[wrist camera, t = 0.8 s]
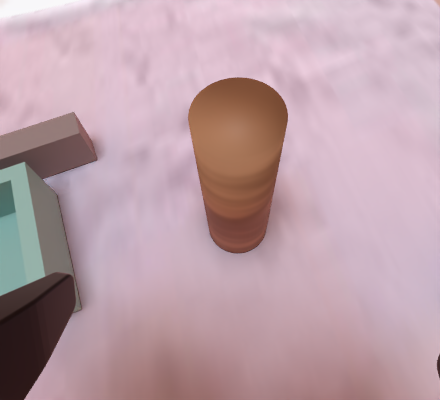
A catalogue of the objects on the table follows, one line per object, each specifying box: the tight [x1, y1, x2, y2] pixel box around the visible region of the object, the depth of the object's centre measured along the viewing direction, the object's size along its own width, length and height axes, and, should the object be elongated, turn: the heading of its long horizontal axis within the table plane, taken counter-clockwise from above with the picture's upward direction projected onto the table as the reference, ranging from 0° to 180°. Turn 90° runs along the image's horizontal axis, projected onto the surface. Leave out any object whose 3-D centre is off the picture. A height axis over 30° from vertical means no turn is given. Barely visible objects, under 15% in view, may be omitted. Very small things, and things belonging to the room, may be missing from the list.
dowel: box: [188, 78, 288, 253], centre depth 20 cm, size 4×4×12 cm
